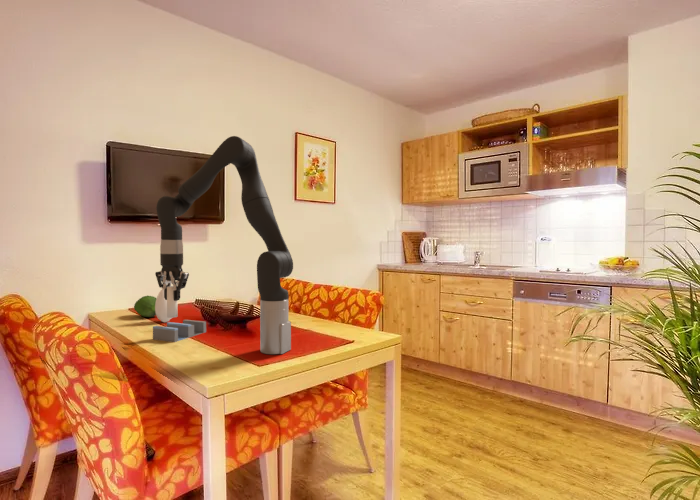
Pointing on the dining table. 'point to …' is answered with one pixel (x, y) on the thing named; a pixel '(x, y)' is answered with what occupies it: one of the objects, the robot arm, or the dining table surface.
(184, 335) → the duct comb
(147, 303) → the fruit
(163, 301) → the white egg candle
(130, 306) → the dining table surface
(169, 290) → the white rectangular bar
